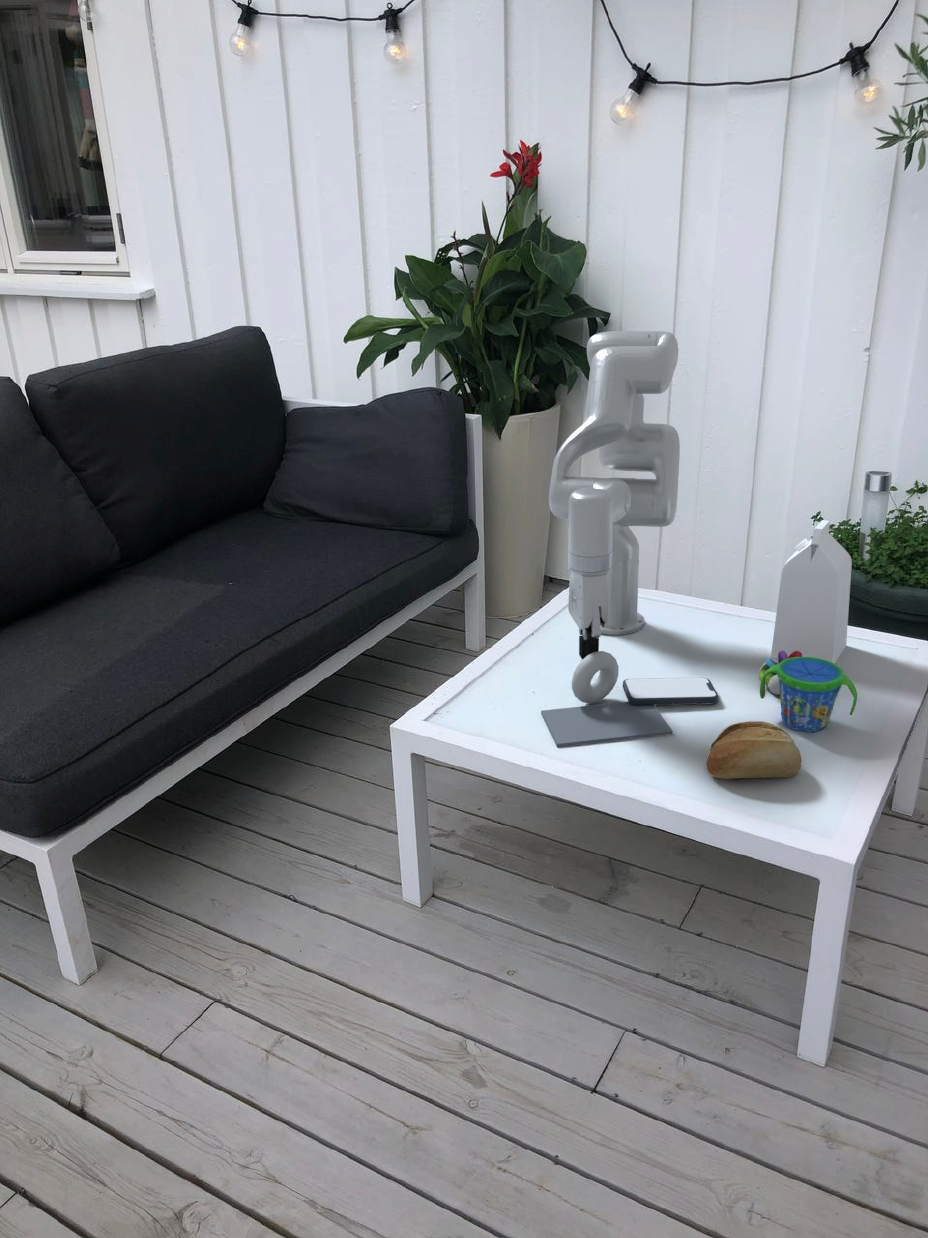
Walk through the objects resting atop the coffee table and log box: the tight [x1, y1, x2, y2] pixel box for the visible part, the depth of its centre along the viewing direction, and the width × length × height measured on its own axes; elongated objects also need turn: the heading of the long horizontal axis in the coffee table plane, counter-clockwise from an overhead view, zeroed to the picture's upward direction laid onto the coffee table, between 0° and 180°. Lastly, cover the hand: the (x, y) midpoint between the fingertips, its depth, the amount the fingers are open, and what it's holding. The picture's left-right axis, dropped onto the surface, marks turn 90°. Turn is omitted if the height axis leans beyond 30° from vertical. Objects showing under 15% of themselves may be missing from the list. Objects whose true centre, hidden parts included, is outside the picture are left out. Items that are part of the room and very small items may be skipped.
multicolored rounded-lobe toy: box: [758, 651, 802, 696], centre depth 183 cm, size 8×10×7 cm
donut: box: [571, 650, 620, 704], centre depth 179 cm, size 10×4×10 cm, turn 125°
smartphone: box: [622, 677, 719, 706], centre depth 182 cm, size 9×2×16 cm
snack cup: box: [759, 657, 858, 733], centre depth 170 cm, size 16×10×10 cm
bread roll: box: [705, 720, 803, 780], centre depth 156 cm, size 10×15×8 cm, turn 97°
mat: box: [540, 701, 674, 748], centre depth 174 cm, size 12×20×1 cm, turn 99°
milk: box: [770, 519, 853, 664], centre depth 193 cm, size 12×12×26 cm
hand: (588, 656), depth 181 cm, fingers closed
